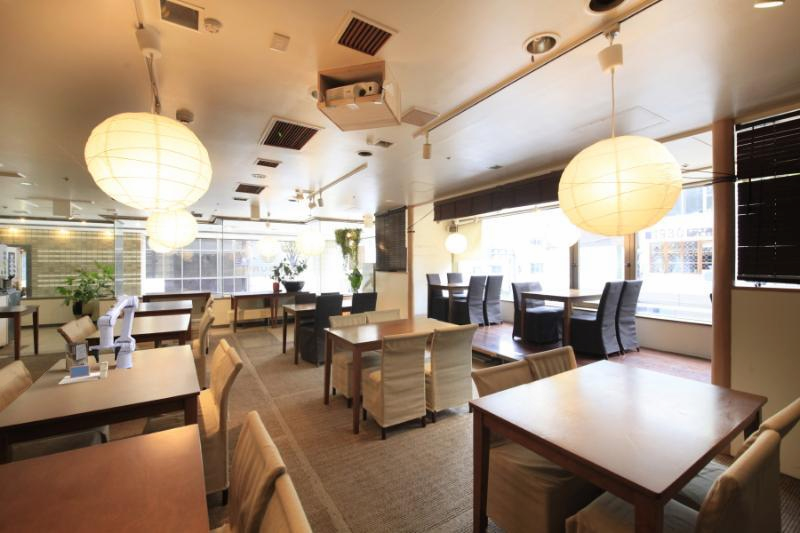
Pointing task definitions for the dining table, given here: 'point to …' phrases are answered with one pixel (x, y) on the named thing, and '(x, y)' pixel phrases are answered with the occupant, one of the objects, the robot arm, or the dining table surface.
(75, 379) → the mat
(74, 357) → the coffee box
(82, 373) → the tile
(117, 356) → the robot arm
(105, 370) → the tall beige block
